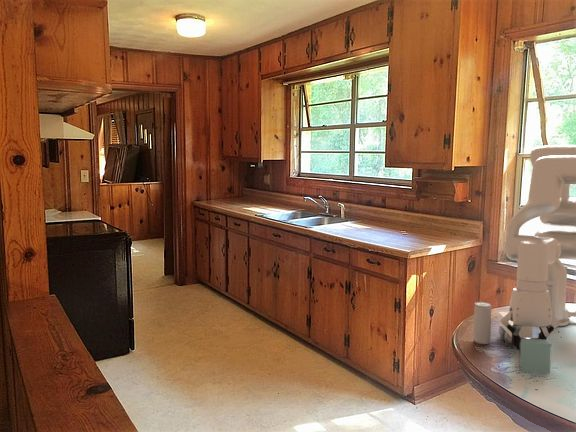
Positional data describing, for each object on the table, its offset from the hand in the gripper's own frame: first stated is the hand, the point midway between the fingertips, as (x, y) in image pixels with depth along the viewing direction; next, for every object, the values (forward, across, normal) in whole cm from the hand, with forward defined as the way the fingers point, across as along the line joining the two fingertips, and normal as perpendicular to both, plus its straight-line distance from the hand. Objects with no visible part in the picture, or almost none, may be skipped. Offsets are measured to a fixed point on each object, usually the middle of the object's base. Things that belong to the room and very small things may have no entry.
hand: (528, 347), depth 135 cm
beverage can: (+4, +9, -12) cm, 16 cm away
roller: (+1, 0, 0) cm, 1 cm away
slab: (-1, 0, -12) cm, 12 cm away
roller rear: (+3, 0, -15) cm, 16 cm away
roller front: (+3, 0, -10) cm, 10 cm away
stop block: (+3, +1, +7) cm, 8 cm away
